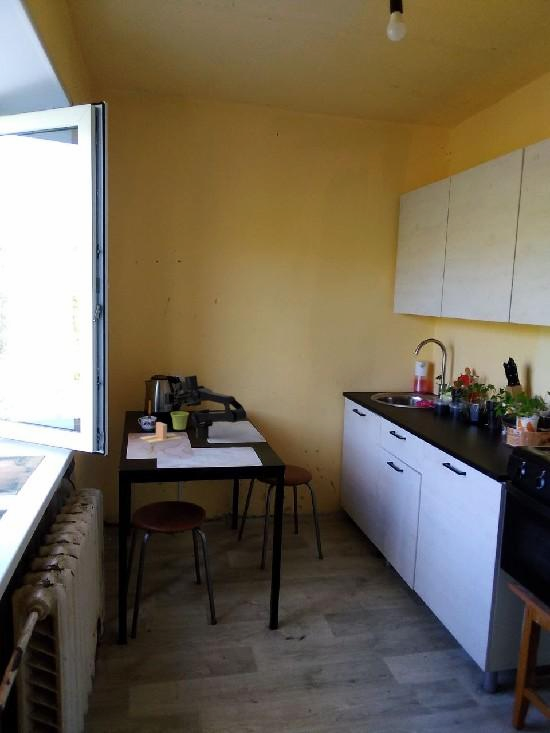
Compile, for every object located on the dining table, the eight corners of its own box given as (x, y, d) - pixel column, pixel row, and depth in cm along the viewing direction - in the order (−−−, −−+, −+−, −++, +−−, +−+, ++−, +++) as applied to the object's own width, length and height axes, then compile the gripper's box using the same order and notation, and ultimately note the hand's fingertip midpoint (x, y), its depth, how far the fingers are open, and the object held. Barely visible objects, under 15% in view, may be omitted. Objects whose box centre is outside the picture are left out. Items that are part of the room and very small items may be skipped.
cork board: (183, 439, 264) (183, 437, 264) (151, 444, 253) (151, 443, 253) (170, 434, 273) (170, 432, 273) (139, 439, 262) (139, 437, 262)
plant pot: (191, 431, 281) (191, 414, 280) (173, 432, 277) (173, 415, 276) (185, 427, 290) (186, 411, 288) (168, 428, 286) (168, 412, 284)
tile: (166, 439, 261) (166, 424, 260) (162, 439, 260) (163, 425, 259) (159, 435, 267) (159, 421, 266) (155, 436, 265) (156, 422, 264)
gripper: (203, 382, 279) (185, 387, 289) (173, 380, 266) (155, 385, 276) (204, 404, 277) (186, 408, 287) (174, 402, 263) (156, 407, 274)
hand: (171, 402), depth 281 cm, fingers open, 9 cm apart
